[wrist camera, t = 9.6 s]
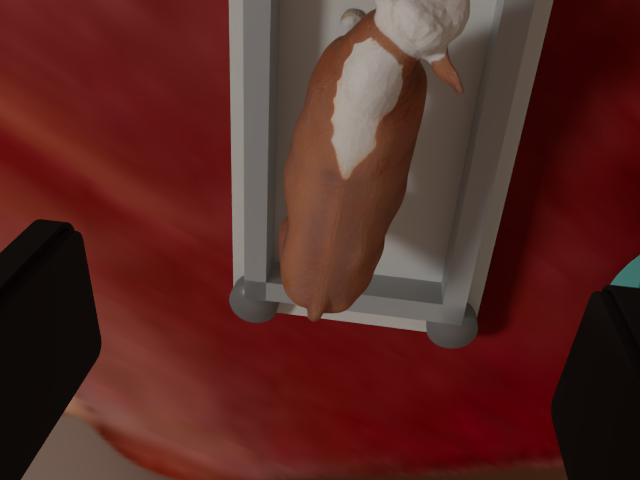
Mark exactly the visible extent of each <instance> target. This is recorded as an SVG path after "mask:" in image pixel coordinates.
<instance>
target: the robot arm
mask: <svg viewBox="0 0 640 480" xmlns="http://www.w3.org/2000/svg"><path fill="white" fill-rule="evenodd" d="M100 350H101V335H100V329H99V324H98V319H97V313H96V308H95V302H94V297H93V291H92V286H91V280H90V275H89V269H88V264H87V258H86V253H85V247H84V242H83V238H82V235H81V233H80V232H78V231H75V230H74V228H73V226H72V225H71V224H70V223H68V222H59V221H51V220H42V219H39V220H36V221H34V222H33V223H32V224H31V225H30V226H29V227H27V228H26V229H25V230H24V231H23V232H22V233H21V234H20V235H19V236H18V237H17V238H16V239H15V240H14V241H13V242H11V243H10V244H9V245H8V246H7V247H6V248H5V249H4V250H3V251H2V252H1V253H0V480H21V478H22V477H23V475H24V473H25V472H26V470H27V469H28V467H29V466H30V464H31V462H32V461H33V459H34V458H35V456H36V455H37V453H38V451H39V450H40V448H41V447H42V445H43V444H44V442H45V440H46V439H47V437H48V436H49V434H50V433H51V431H52V429H53V428H54V426H55V425H56V423H57V422H58V420H59V418H60V417H61V415H62V414H63V412H64V411H65V409H66V407H67V406H68V404H69V403H70V401H71V400H72V398H73V396H74V395H75V393H76V392H77V390H78V389H79V387H80V385H81V384H82V382H83V381H84V379H85V377H86V376H87V374H88V373H89V371H90V370H91V368H92V366H93V365H94V363H95V362H96V360H97V358H98V356H99V354H100ZM551 416H552V421H553V425H554V429H555V432H556V436H557V440H558V444H559V447H560V451H561V455H562V459H563V462H564V466H565V470H566V474H567V477H568V480H640V288H635V287H627V286H618V285H606V286H605V287H604V288H603V290H602V292H599V291H595V292H593V293H592V295H591V297H590V299H589V302H588V304H587V307H586V310H585V312H584V315H583V318H582V320H581V323H580V326H579V329H578V331H577V334H576V337H575V339H574V342H573V345H572V347H571V350H570V353H569V355H568V358H567V361H566V364H565V366H564V369H563V372H562V374H561V377H560V380H559V382H558V385H557V388H556V390H555V393H554V396H553V399H552V404H551Z"/></svg>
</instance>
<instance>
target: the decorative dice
mask: <svg viewBox="0 0 640 480" xmlns="http://www.w3.org/2000/svg"><path fill="white" fill-rule="evenodd" d="M610 285H618V286H627V287H635V288H640V255H639V256H638V257H636V258H635V259H634V260H632V261H631V262H630V263H629V264H628V265H627V266H626V267H625V268H624V269H623V270H622V271H621V272H620V273H619V274H618V275H617V276H616V277H615V279H614V280H613V281H612V283H611V284H610Z"/></svg>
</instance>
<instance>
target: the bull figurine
mask: <svg viewBox="0 0 640 480" xmlns="http://www.w3.org/2000/svg"><path fill="white" fill-rule="evenodd" d="M373 1H374V2H375V4H376V8H375V9H374V10H372V11H370V12H369V13H368V14H367V15H366V16H365V15H364V14H363V13H362V12H361V11H360V10H358V9H355V8H351V9H348V10H347V11H345V13H344V14H343V15H342V17H341V35H340V37H338V38H336V39H335V40H334V41H333V42H331V43H330V44H329V45H328V47H327V48H326V49H325V50H324V52H323V53H322V55H321V57H320V59H319V60H318V62H317V64H316V66H315V67H314V70H313V72H312V75H311V78H310V81H309V84H308V88H307V92H306V98H305V103H304V106H303V109H302V111H301V114H300V116H299V118H298V121H297V123H296V126H295V129H294V133H293V136H292V140H291V145H290V149H289V152H288V155H287V158H286V162H285V167H284V194H285V203H286V208H287V216H286V218H285V219H284V220H283V222H282V224H281V227H280V231H279V258H280V272H281V280H282V284H283V287H284V290H285V293H286V294H287V296H288V297H289V298H290V299H291V300H292V301H293V302H294V303H295V304H296V305H298V306H300V307H304V308H306V309H307V316H308V318H309V319H310V320H311V321H318V320H319V319H320V318H321V317H322V315H323V313H340V312H344V311H346V310H347V309H349V308H350V307H351V306H352V305H353V303H354V302H355V301H356V300H357V299H358V298H359V297H360V296H361V295H362V293H363V292H364V291H365V290H366V289H367V287H368V286H369V284H370V282H371V280H372V277H373V274H374V271H375V269H376V266H377V264H378V262H379V260H380V258H381V256H382V253H383V250H384V244H385V235H386V233H387V231H388V228H389V226H390V224H391V222H392V220H393V219H394V217H395V215H396V214H397V212H398V210H399V208H400V206H401V204H402V202H403V199H404V196H405V193H406V188H407V180H408V173H409V169H410V165H411V161H412V157H413V153H414V149H415V145H416V140H417V135H418V132H419V129H420V125H421V121H422V117H423V113H424V107H425V101H426V94H427V75H426V72H425V69H424V67H423V65H422V64H421V62H420V59H424V60H427V61H428V62H429V63H430V65H431V67H432V69H433V71H434V73H435V74H436V76H437V77H438V78H440V79H441V80H442V81H444V82H445V83H446V84H448V85H449V86H451V87H452V88H453V89H454V91H455V92H456V93H457V94H459V95H462V94H463V93H464V89H463V85H462V83H461V80H460V77H459V74H458V73H457V71H456V70H455V68H454V67H453V65H452V64H451V62H450V58H449V54H448V45H449V43H450V42H451V41H453V40H454V39H455V38H457V37H458V36H459V35H460V34H461V33H462V32H463V30H464V28H465V26H466V24H467V21H468V19H469V15H470V0H373Z"/></svg>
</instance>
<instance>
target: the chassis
mask: <svg viewBox="0 0 640 480" xmlns="http://www.w3.org/2000/svg"><path fill="white" fill-rule="evenodd" d="M552 4H553V0H470V15H469V19H468V21H467V24H466V26H465V28H464V30H463V32H462V33H461V34H460V35H459V36H458V37H457V38H455V39H454V40H453V41H451V42H450V43H449V45H448V54H449V58H450V62H451V64H452V65H453V67H454V68H455V70H456V71H457V73H458V74H459V77H460V80H461V83H462V85H463V89H464V93H463V94H462V95H459V94H457V93H456V92H455V91H454V89H453V88H452V87H451V86H449V85H448V84H446V83H445V82H444V81H442V80H441V79H440V78H438V77H437V76H436V74H435V73H434V71H433V69H432V67H431V65H430V63H429V62H428V61H427V60H424V59H420V62H421V64H422V65H423V67H424V69H425V72H426V75H427V94H426V101H425V107H424V113H423V117H422V121H421V125H420V129H419V132H418V135H417V140H416V145H415V149H414V153H413V157H412V161H411V165H410V169H409V173H408V180H407V188H406V193H405V196H404V199H403V202H402V204H401V206H400V208H399V210H398V212H397V214H396V215H395V217H394V219H393V220H392V222H391V224H390V226H389V228H388V231H387V233H386V235H385V244H384V250H383V253H382V256H381V258H380V260H379V262H378V264H377V266H376V269H375V271H374V274H373V277H372V280H371V282H370V284H369V286H368V287H367V289H366V290H365V291H364V292H363V293H362V295H361V296H360V297H359V298H358V299H357V300H356V301H355V302H354V303H353V305H352V306H351V307H350V308H349V309H347V310H346V311H344V312H340V313H323V315H322V317H321V318H323V319H331V320H339V321H347V322H354V323H362V324H370V325H378V326H385V327H393V328H401V329H408V330H416V331H424V332H427V334H428V336H429V338H430V339H431V340H432V341H433V342H434V343H435V344H437V345H439V346H441V347H444V348H460V347H463V346H465V345H467V344H469V343H470V342H472V341H473V340H474V338H475V337H476V335H477V332H478V323H477V316H478V311H479V307H480V303H481V299H482V295H483V291H484V287H485V282H486V278H487V274H488V270H489V266H490V262H491V257H492V253H493V249H494V245H495V241H496V237H497V233H498V228H499V224H500V220H501V216H502V212H503V208H504V204H505V199H506V195H507V191H508V187H509V183H510V179H511V174H512V170H513V166H514V162H515V158H516V154H517V150H518V145H519V141H520V137H521V133H522V129H523V125H524V121H525V116H526V112H527V108H528V104H529V100H530V96H531V91H532V87H533V83H534V79H535V75H536V71H537V67H538V62H539V58H540V54H541V50H542V46H543V42H544V38H545V33H546V29H547V25H548V21H549V17H550V13H551V8H552ZM351 8H355V9H358V10H360V11H361V12H362V13H363V14H364V15H365V16H366V15H367V14H368V13H369V12H370V11H372V10H374V9H375V8H376V4H375V2H374V1H373V0H229V33H230V97H231V160H232V223H233V289H232V292H231V294H230V298H229V301H230V306H231V308H232V310H233V311H234V313H235V314H236V315H237V316H239V317H240V318H241V319H243V320H245V321H248V322H252V323H262V322H266V321H268V320H270V319H271V318H272V317H273V316H274V315H275V314H276V312H277V313H285V314H292V315H300V316H307V309H306V308H304V307H300V306H298V305H296V304H295V303H294V302H293V301H292V300H291V299H290V298H289V297H288V296H287V294H286V293H285V290H284V287H283V284H282V280H281V272H280V258H279V231H280V227H281V224H282V222H283V220H284V219H285V218H286V216H287V208H286V203H285V194H284V167H285V162H286V158H287V155H288V152H289V149H290V145H291V140H292V136H293V133H294V129H295V126H296V123H297V121H298V118H299V116H300V114H301V111H302V109H303V106H304V103H305V98H306V92H307V88H308V84H309V81H310V78H311V75H312V72H313V70H314V67H315V66H316V64H317V62H318V60H319V59H320V57H321V55H322V53H323V52H324V50H325V49H326V48H327V47H328V45H329V44H330V43H331V42H333V41H334V40H335V39H336V38H338V37H340V35H341V17H342V15H343V14H344V13H345V11H347V10H348V9H351Z"/></svg>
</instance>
